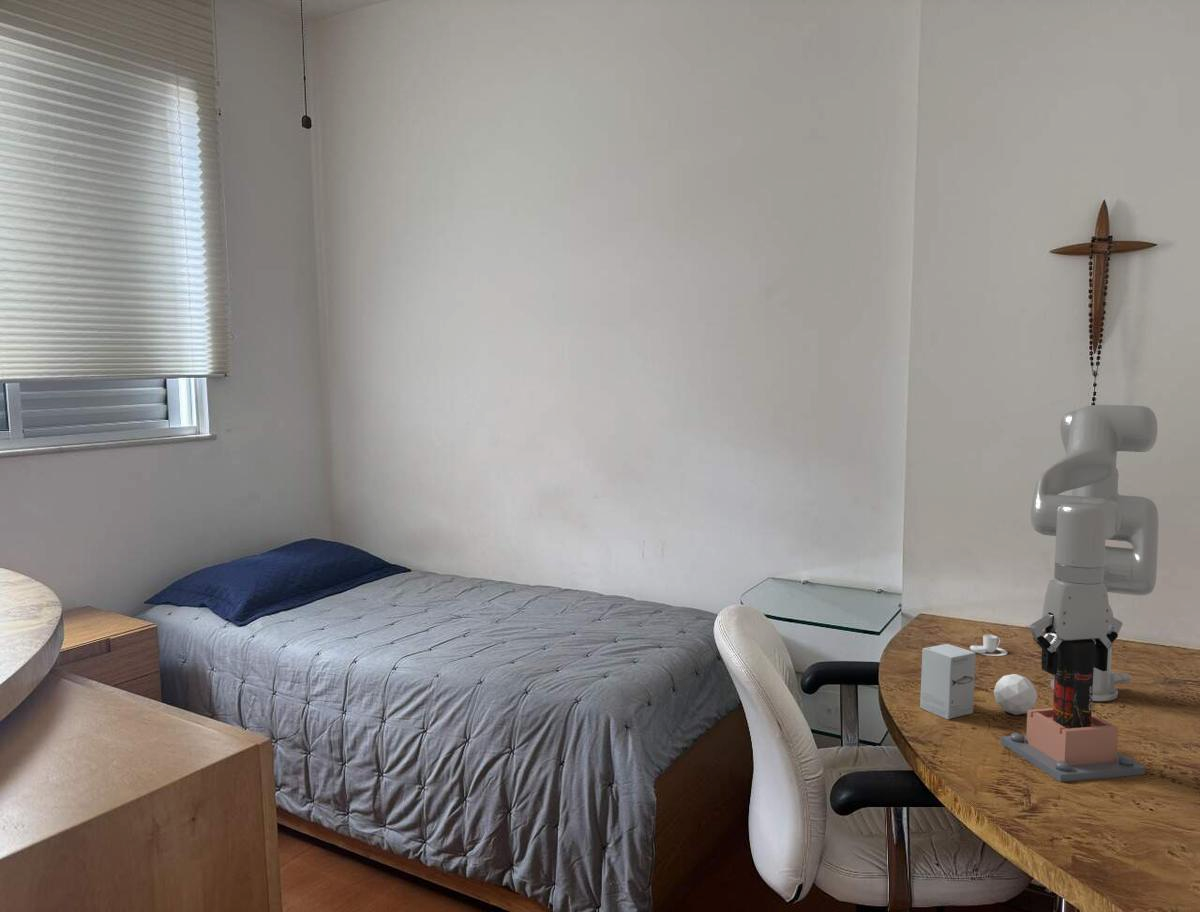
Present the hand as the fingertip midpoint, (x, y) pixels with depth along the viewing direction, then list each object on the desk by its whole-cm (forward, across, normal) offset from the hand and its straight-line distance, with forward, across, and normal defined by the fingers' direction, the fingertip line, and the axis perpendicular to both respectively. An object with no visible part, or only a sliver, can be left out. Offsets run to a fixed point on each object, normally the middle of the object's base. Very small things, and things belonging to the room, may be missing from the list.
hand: (1074, 670), depth 154 cm
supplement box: (+16, +9, -24) cm, 30 cm away
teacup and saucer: (+17, -22, -60) cm, 66 cm away
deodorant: (+10, 0, 0) cm, 10 cm away
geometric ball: (+16, -4, -21) cm, 27 cm away
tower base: (+16, 0, 0) cm, 16 cm away
